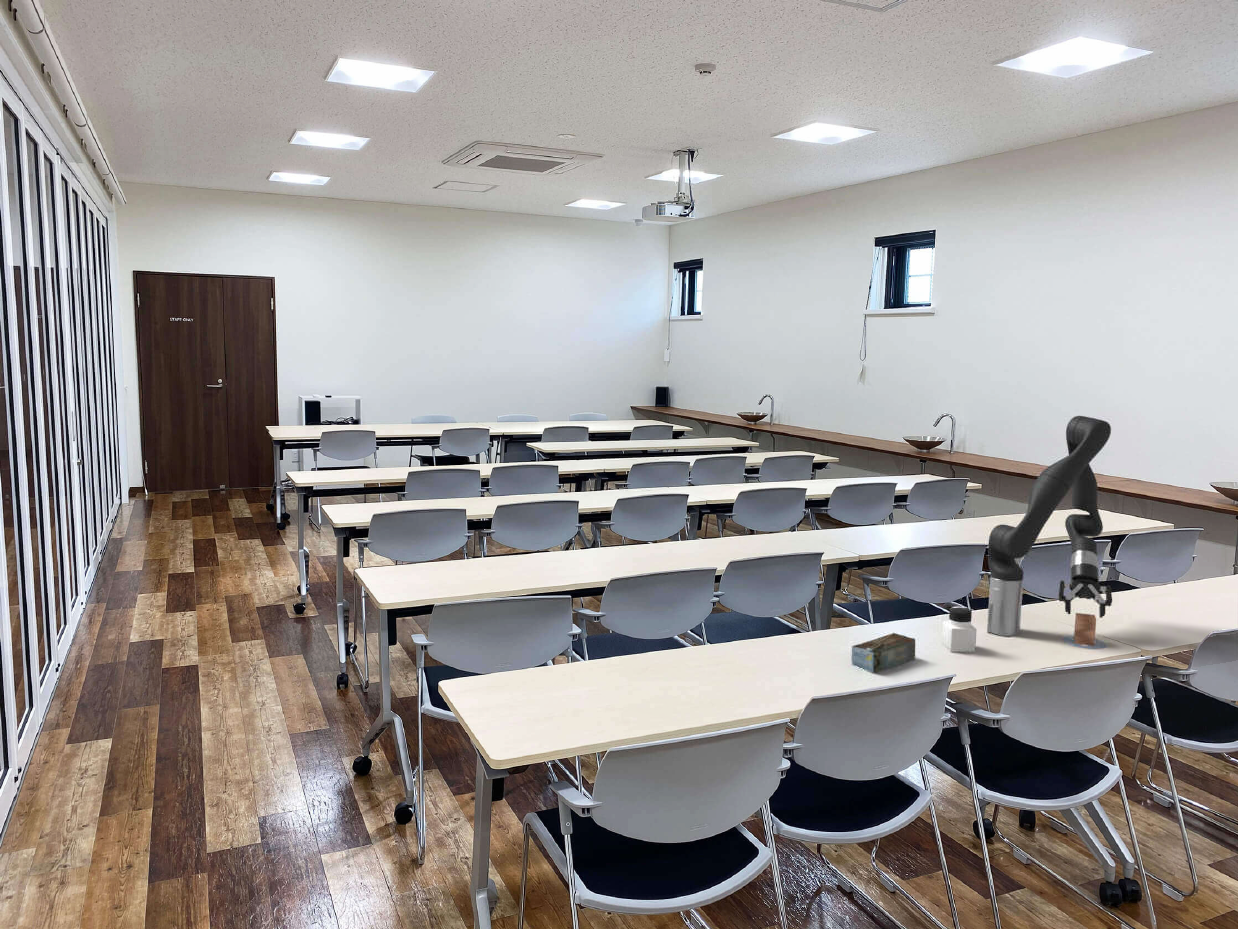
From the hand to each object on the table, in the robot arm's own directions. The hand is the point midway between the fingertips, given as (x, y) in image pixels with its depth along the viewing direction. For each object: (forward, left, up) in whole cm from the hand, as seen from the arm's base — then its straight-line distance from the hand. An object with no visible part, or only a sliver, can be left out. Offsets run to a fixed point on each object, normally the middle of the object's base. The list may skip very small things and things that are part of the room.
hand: (1085, 614), depth 261 cm
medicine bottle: (-34, -23, -8) cm, 42 cm away
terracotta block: (0, -3, -8) cm, 8 cm away
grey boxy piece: (-53, -45, -8) cm, 70 cm away
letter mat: (0, -3, -8) cm, 8 cm away
